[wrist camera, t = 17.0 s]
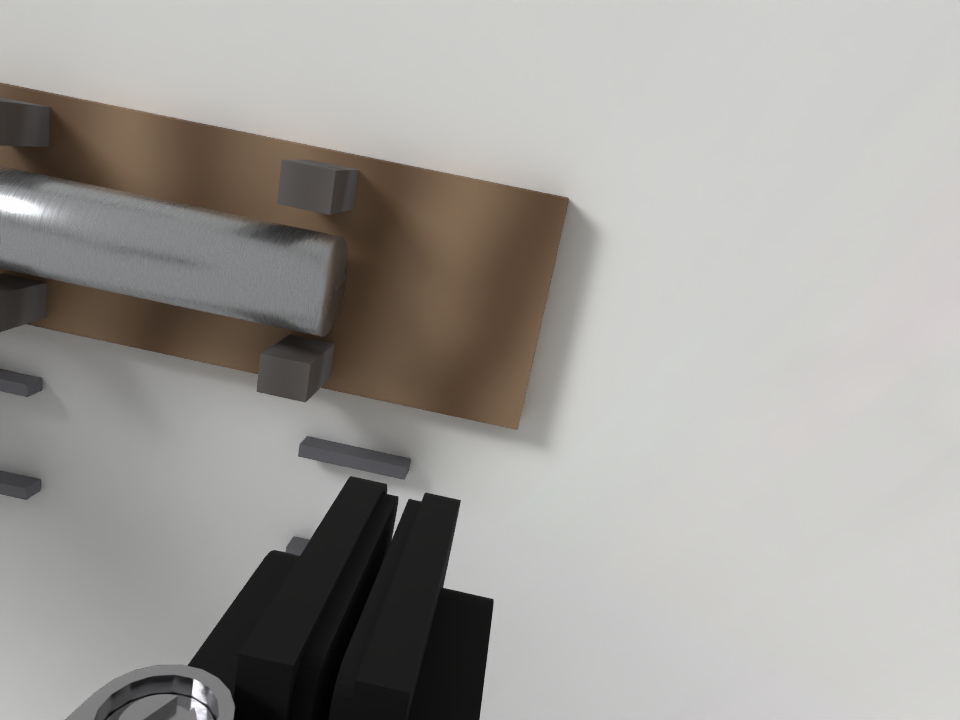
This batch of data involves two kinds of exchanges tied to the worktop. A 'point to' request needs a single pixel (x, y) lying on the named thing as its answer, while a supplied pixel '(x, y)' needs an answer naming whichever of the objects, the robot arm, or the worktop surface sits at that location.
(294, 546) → the set of grey slats
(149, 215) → the tube
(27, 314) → the brown board
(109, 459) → the worktop surface
